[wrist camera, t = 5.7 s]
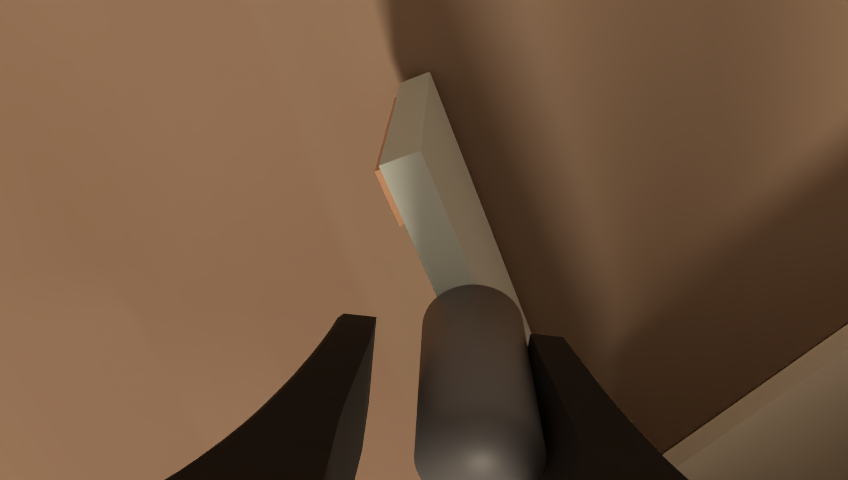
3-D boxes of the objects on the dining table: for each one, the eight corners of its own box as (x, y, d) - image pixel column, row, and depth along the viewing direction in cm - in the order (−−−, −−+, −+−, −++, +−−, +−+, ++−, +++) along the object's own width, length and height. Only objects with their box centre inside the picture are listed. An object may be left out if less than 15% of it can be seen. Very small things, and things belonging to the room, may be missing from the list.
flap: (609, 485, 23) (701, 824, 15) (553, 499, 24) (612, 836, 15) (451, 63, 17) (454, 225, 8) (379, 91, 17) (311, 274, 9)
